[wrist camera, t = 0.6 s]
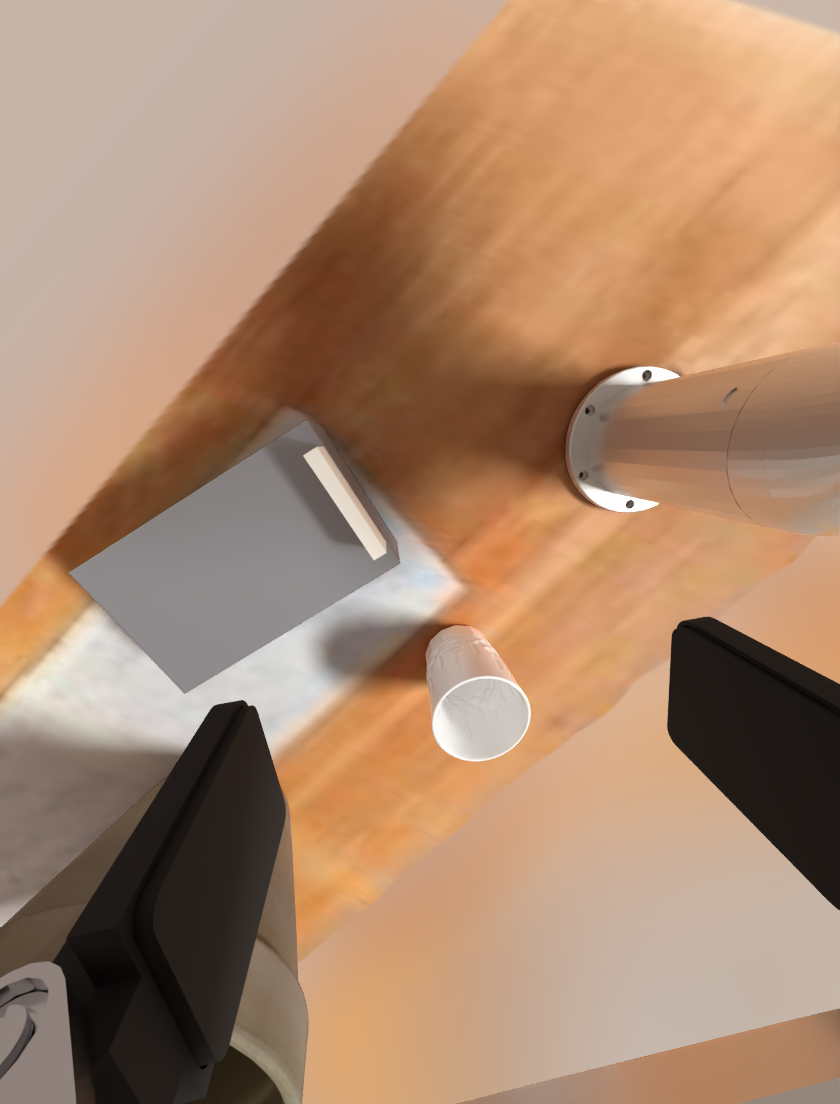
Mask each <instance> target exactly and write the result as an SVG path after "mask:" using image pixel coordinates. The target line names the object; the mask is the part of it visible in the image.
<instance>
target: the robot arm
mask: <svg viewBox="0 0 840 1104" xmlns="http://www.w3.org/2000/svg"><path fill="white" fill-rule="evenodd" d="M642 377H643V378H642ZM585 409H587V413H585ZM565 458H566V463H567V469H568V472H569V475H570V477H571V479H572V482H573V484H574V485H575V486H576V488H577V489H578V491H579V492H580V493H581V494H582V495H583V496H584V497H585V498H586V499H587V500H588V501H590V502H591V503H593V504H595V505H596V506H598V507H601V508H604V509H607V510H611V511H615V512H622V513H632V512H637V511H643V510H646V509H648V508H651V507H654V506H656V505H658V504H663V505H667V506H672V507H676V508H681V509H685V510H690V511H694V512H699V513H704V514H708V515H713V516H717V517H722V518H726V519H731V520H735V521H740V522H744V523H749V524H753V525H758V526H762V527H767V528H772V529H776V530H781V531H786V532H790V533H796V534H802V535H809V536H840V341H838V342H833V343H829V344H824V345H820V346H816V347H812V348H809V349H804V350H800V351H795V352H791V353H786V354H782V355H777V356H772V357H768V358H763V359H759V360H754V361H750V362H745V363H741V364H736V365H732V366H727V367H722V368H718V369H713V370H709V371H704V372H700V373H695V374H691V375H686V376H682V377H680V376H679V375H678V374H676V373H675V372H672V371H670V370H668V369H665V368H662V367H656V366H637V367H633V368H629V369H625V370H622V371H620V372H617V373H615V374H612V375H610V376H609V377H607V378H605V379H604V380H602V381H601V382H599V383H598V384H597V385H596V386H595V387H594V388H593V389H591V390H590V391H589V392H588V393H587V395H586V396H585V397H584V399H583V400H582V401H581V402H580V404H579V405H578V407H577V409H576V411H575V413H574V415H573V416H572V419H571V422H570V425H569V428H568V431H567V437H566V443H565ZM580 473H581V476H580V477H579V474H580ZM667 727H668V733H669V735H670V737H671V739H672V741H673V742H674V744H675V745H676V746H677V747H678V748H679V749H680V750H681V751H682V752H683V753H684V754H685V755H686V756H687V757H688V758H689V759H690V760H691V761H692V762H693V763H694V764H695V765H696V766H697V767H698V768H699V769H700V770H701V771H702V772H703V773H704V775H705V776H706V777H707V778H708V779H709V780H710V781H711V782H712V783H713V784H714V785H715V786H716V787H717V788H718V789H719V790H720V791H721V792H722V793H723V794H724V795H725V796H726V797H727V798H728V799H729V800H730V801H731V802H732V803H733V804H734V805H735V806H736V807H737V808H738V809H739V810H740V811H741V812H742V813H743V814H744V815H745V816H746V817H747V818H748V819H749V820H750V821H751V822H752V823H753V824H754V825H755V826H756V828H757V829H759V831H760V832H761V833H762V834H764V836H765V837H766V838H767V839H768V840H769V841H770V842H771V843H772V844H773V845H774V846H775V847H776V848H777V849H778V850H779V851H780V852H781V853H782V854H783V855H784V856H785V857H786V858H787V859H788V860H789V861H790V862H791V863H792V864H793V865H794V866H795V867H796V868H797V869H798V870H799V871H800V872H801V873H802V874H803V875H804V876H805V877H806V878H807V879H808V880H809V882H810V883H812V884H813V885H814V887H815V888H816V889H817V890H818V891H819V892H820V893H821V894H822V895H823V896H824V897H825V898H826V899H827V900H828V901H829V902H830V903H831V904H832V905H834V906H835V907H836V908H837V909H839V910H840V684H838V683H836V682H834V681H833V680H831V679H829V678H827V677H825V676H823V675H821V674H819V673H817V672H815V671H813V670H811V669H810V668H807V667H806V666H804V665H802V664H800V663H798V662H796V661H794V660H792V659H791V658H788V657H787V656H785V655H783V654H781V653H779V652H777V651H775V650H773V649H771V648H770V647H768V646H765V645H764V644H762V643H760V642H758V641H756V640H754V639H752V638H750V637H749V636H747V635H745V634H742V633H741V632H739V631H737V630H735V629H733V628H731V627H729V626H728V625H726V624H724V623H722V622H720V621H718V620H716V619H714V618H711V617H702V618H697V619H691V620H685V621H682V622H680V623H679V624H678V626H677V629H675V630H674V631H673V633H672V643H671V663H670V683H669V703H668V723H667ZM285 818H286V805H285V800H284V797H283V794H282V791H281V787H280V784H279V781H278V777H277V774H276V771H275V768H274V764H273V761H272V758H271V755H270V751H269V748H268V745H267V741H266V738H265V735H264V732H263V728H262V725H261V722H260V719H259V715H258V712H257V710H256V708H255V706H248V705H247V703H246V702H245V701H243V700H241V701H235V702H229V703H224V704H218V705H215V706H213V707H212V708H211V710H210V711H209V713H208V714H207V716H206V718H205V719H204V721H203V722H202V724H201V725H200V727H199V729H198V730H197V732H196V733H195V735H194V736H193V738H192V740H191V741H190V743H189V744H188V746H187V748H186V749H185V751H184V752H183V754H182V755H181V757H180V759H179V760H178V762H177V763H176V765H175V766H174V768H173V770H172V771H171V773H170V774H169V776H168V778H167V779H166V781H165V782H164V784H163V785H162V787H161V789H160V790H159V792H158V793H157V795H156V796H155V798H154V800H153V801H152V803H151V804H150V806H149V808H148V809H147V811H146V812H145V814H144V815H143V817H142V819H141V820H140V822H139V823H138V825H137V826H136V828H135V830H134V831H133V833H132V834H131V836H130V838H129V839H128V841H127V842H126V844H125V845H124V847H123V849H122V850H121V852H120V853H119V855H118V856H117V858H116V860H115V861H114V863H113V864H112V866H111V868H110V869H109V871H108V872H107V874H106V875H105V877H104V879H103V880H102V882H101V883H100V885H99V886H98V888H97V890H96V891H95V893H94V894H93V896H92V898H91V899H90V901H89V902H88V904H87V905H86V907H85V909H84V910H83V912H82V913H81V915H80V916H79V918H78V920H77V921H76V923H75V924H74V926H73V928H72V929H71V931H70V932H69V934H68V935H67V937H66V939H67V940H66V942H65V943H64V945H63V946H62V948H61V950H60V951H59V953H58V954H57V956H56V958H55V959H54V961H53V962H52V963H51V962H49V961H47V962H38V963H31V964H28V965H26V966H24V967H21V968H19V969H16V970H14V971H12V972H9V973H8V974H6V975H4V976H3V977H1V978H0V1104H181V1103H185V1102H189V1101H194V1100H198V1099H202V1098H206V1094H207V1090H208V1086H209V1083H210V1079H211V1075H212V1071H213V1068H214V1064H215V1063H217V1062H220V1061H222V1059H223V1058H224V1057H225V1055H226V1052H227V1050H228V1047H229V1044H230V1041H231V1037H232V1033H233V1029H234V1025H235V1021H236V1017H237V1013H238V1009H239V1005H240V1001H241V997H242V993H243V989H244V985H245V981H246V977H247V973H248V969H249V965H250V961H251V957H252V953H253V949H254V945H255V941H256V937H257V933H258V929H259V924H260V920H261V916H262V912H263V908H264V904H265V900H266V896H267V892H268V888H269V884H270V880H271V876H272V872H273V868H274V864H275V860H276V856H277V852H278V848H279V844H280V840H281V836H282V832H283V828H284V824H285ZM457 1104H840V1009H836V1010H832V1011H827V1012H823V1013H819V1014H815V1015H811V1016H807V1017H802V1018H798V1019H794V1020H790V1021H787V1022H782V1023H778V1024H774V1025H770V1026H766V1027H762V1028H758V1029H754V1030H750V1031H746V1032H741V1033H737V1034H733V1035H730V1036H726V1037H721V1038H717V1039H713V1040H709V1041H705V1042H701V1043H697V1044H693V1045H689V1046H685V1047H681V1048H677V1049H672V1050H668V1051H664V1052H660V1053H656V1054H653V1055H648V1056H644V1057H640V1058H636V1059H633V1060H628V1061H624V1062H620V1063H616V1064H613V1065H608V1066H604V1067H600V1068H596V1069H592V1070H588V1071H584V1072H580V1073H576V1074H573V1075H568V1076H564V1077H560V1078H556V1079H552V1080H548V1081H544V1082H540V1083H536V1084H532V1085H528V1086H524V1087H521V1088H516V1089H512V1090H508V1091H505V1092H501V1093H497V1094H493V1095H489V1096H485V1097H481V1098H477V1099H473V1100H469V1101H465V1102H461V1103H457Z"/></svg>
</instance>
